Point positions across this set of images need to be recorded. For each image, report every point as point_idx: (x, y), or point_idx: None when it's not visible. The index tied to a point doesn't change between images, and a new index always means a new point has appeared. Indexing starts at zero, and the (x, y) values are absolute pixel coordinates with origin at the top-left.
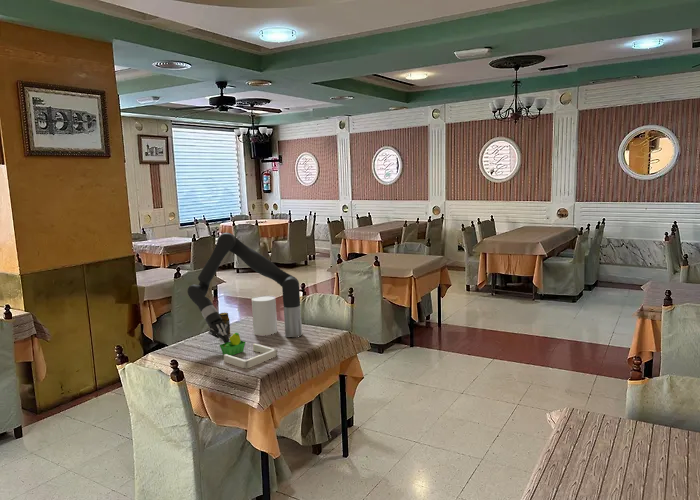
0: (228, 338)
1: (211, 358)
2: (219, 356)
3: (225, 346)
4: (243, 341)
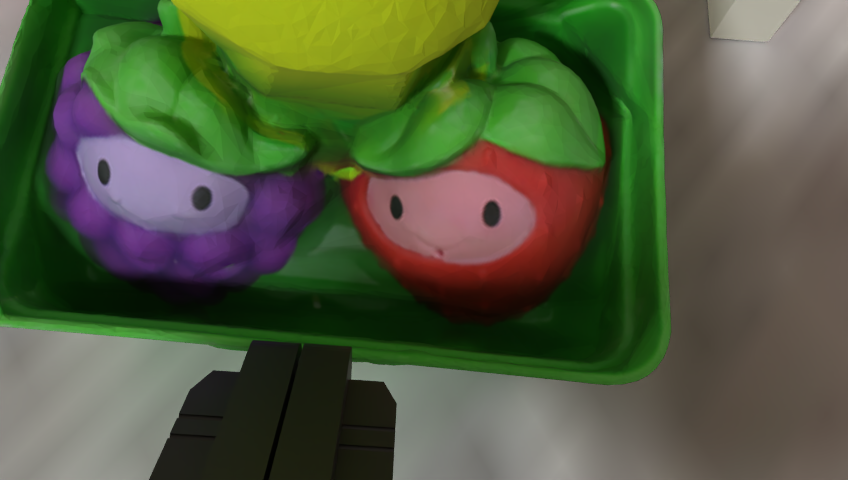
0: (186, 415)
1: (836, 406)
2: None
3: (600, 145)
4: (25, 25)
